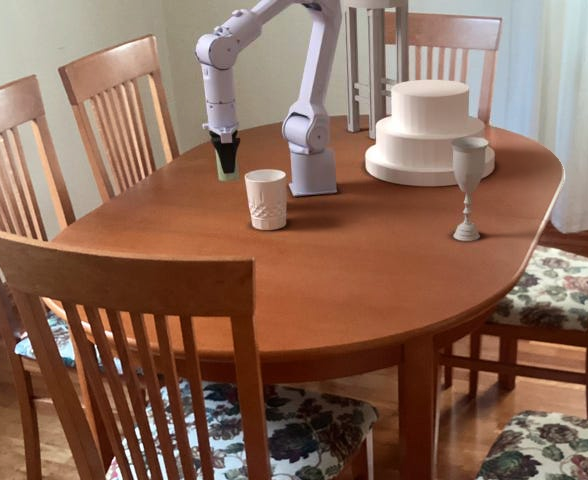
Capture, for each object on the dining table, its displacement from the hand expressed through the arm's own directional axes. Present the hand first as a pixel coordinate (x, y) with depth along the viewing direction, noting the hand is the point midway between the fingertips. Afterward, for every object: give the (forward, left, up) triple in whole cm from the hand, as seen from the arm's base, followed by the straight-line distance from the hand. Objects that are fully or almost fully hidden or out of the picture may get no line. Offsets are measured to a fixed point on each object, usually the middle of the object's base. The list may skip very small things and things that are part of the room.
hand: (228, 169), depth 185 cm
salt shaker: (0, 0, -2) cm, 2 cm away
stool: (-42, -52, -9) cm, 67 cm away
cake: (-47, -19, -9) cm, 52 cm away
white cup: (-6, +10, -9) cm, 15 cm away
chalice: (-42, +26, -9) cm, 51 cm away
